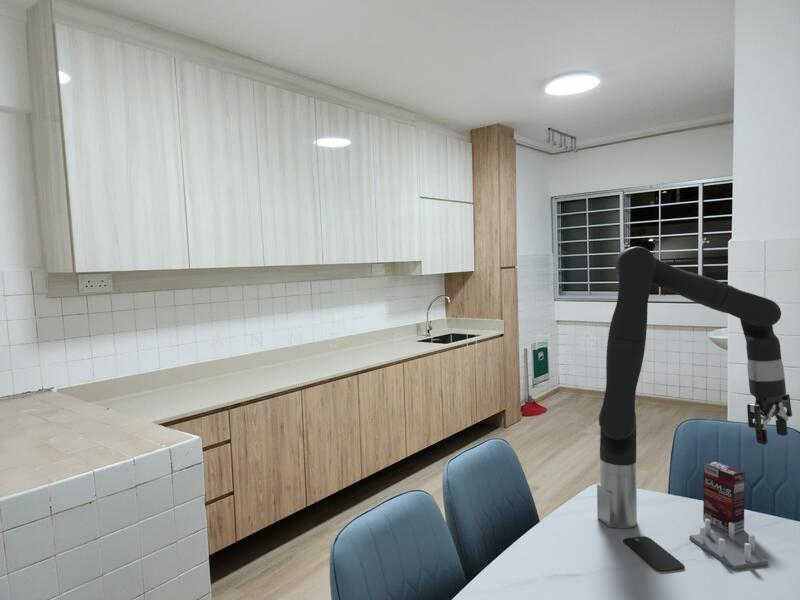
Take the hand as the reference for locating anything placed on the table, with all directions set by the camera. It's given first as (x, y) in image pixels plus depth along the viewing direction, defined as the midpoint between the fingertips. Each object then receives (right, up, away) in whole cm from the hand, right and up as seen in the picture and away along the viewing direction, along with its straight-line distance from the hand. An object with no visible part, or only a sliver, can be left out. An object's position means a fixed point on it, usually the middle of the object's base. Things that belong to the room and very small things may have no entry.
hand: (772, 439), depth 131 cm
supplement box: (-8, -25, +7) cm, 27 cm away
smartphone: (-33, -27, -5) cm, 43 cm away
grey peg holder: (-15, -26, -5) cm, 30 cm away
